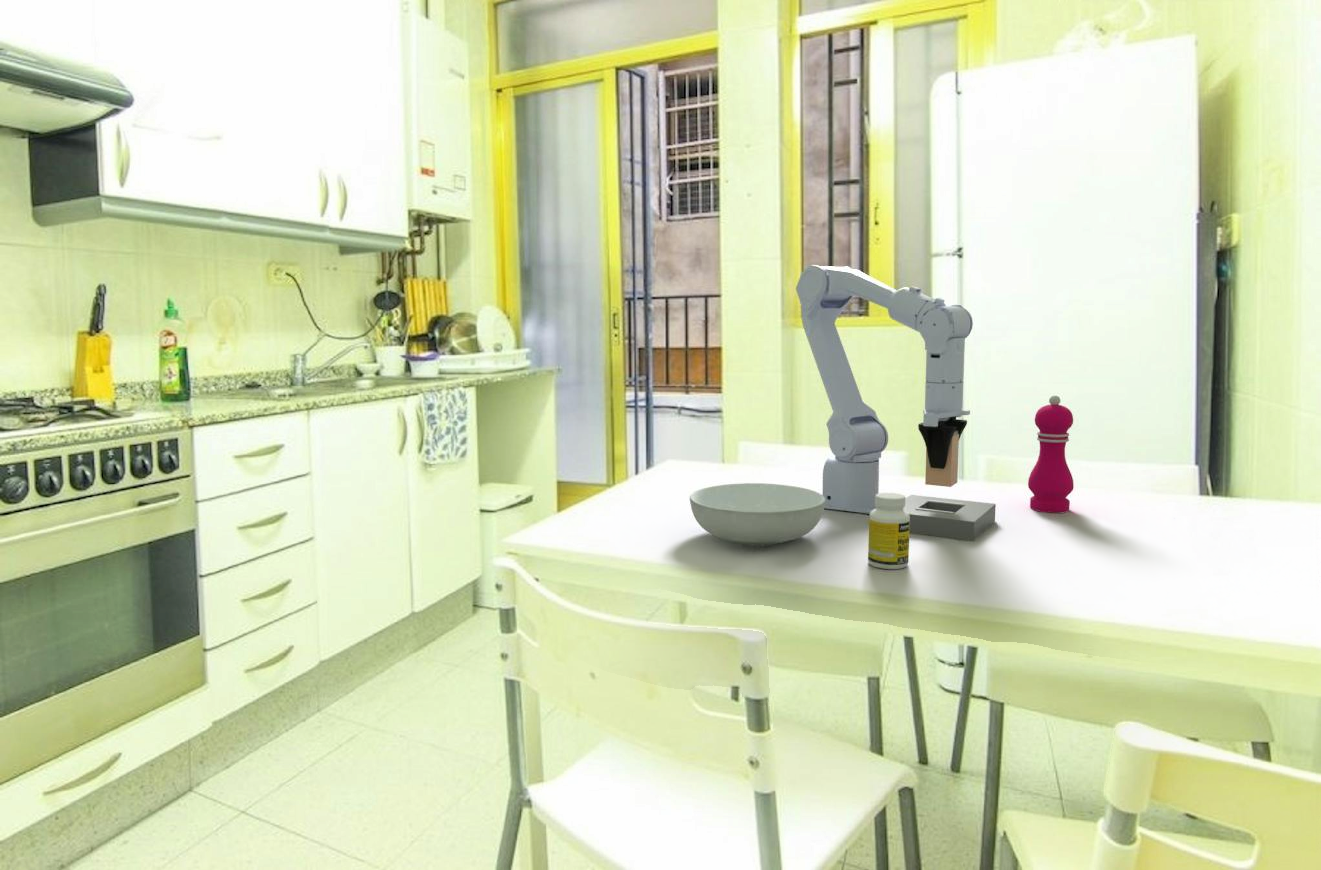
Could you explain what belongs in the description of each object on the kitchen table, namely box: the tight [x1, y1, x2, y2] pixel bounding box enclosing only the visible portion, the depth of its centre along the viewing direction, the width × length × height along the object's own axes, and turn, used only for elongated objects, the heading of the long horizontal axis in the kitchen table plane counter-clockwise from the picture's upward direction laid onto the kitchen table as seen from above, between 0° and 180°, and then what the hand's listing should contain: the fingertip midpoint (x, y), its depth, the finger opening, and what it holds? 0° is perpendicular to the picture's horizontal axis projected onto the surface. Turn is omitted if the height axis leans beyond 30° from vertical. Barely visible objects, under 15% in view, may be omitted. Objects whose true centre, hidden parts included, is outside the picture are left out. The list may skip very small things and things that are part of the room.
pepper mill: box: [1027, 395, 1074, 514], centre depth 141 cm, size 7×7×20 cm
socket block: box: [903, 494, 997, 542], centre depth 133 cm, size 14×14×3 cm
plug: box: [924, 430, 960, 488], centre depth 131 cm, size 4×4×9 cm
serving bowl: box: [689, 482, 825, 547], centre depth 127 cm, size 21×21×7 cm
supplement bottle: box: [867, 492, 910, 570], centre depth 112 cm, size 5×5×10 cm
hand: (941, 465), depth 131 cm, fingers closed on plug, 4 cm apart
